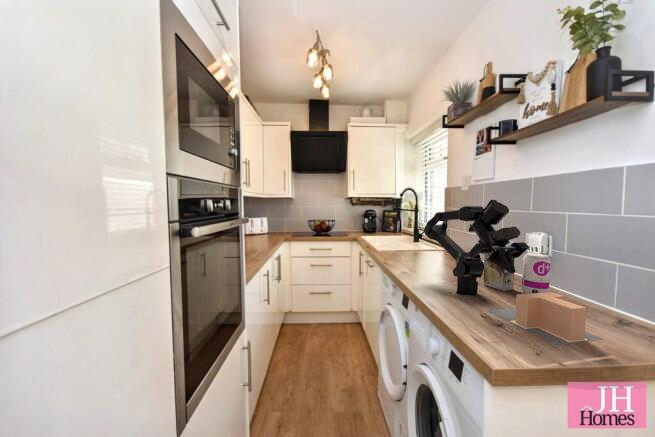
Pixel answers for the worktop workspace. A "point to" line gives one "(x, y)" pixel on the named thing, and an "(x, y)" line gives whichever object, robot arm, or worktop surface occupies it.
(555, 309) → the t block
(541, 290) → the supplement can
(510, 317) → the mat
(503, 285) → the coffee box
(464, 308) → the worktop surface
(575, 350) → the worktop surface
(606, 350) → the worktop surface
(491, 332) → the worktop surface
